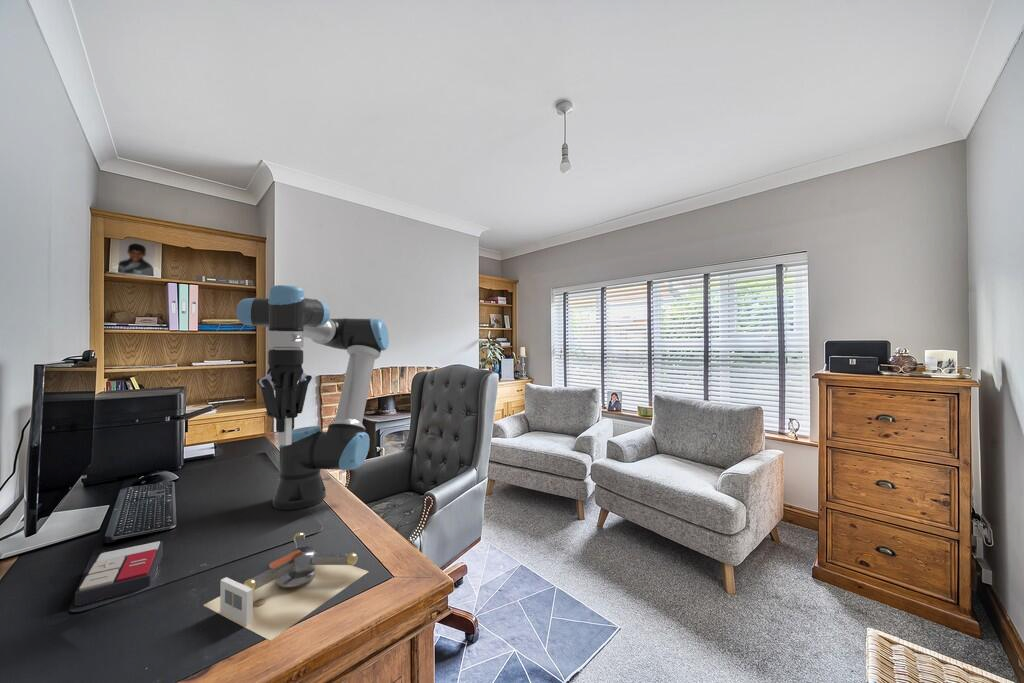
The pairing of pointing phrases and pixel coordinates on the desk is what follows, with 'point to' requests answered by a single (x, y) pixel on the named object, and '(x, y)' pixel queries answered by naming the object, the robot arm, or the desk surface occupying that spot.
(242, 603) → the panel
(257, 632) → the stand base
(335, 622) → the desk surface
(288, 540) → the desk surface
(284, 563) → the capstan
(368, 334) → the robot arm
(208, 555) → the desk surface
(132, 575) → the grey and red box
